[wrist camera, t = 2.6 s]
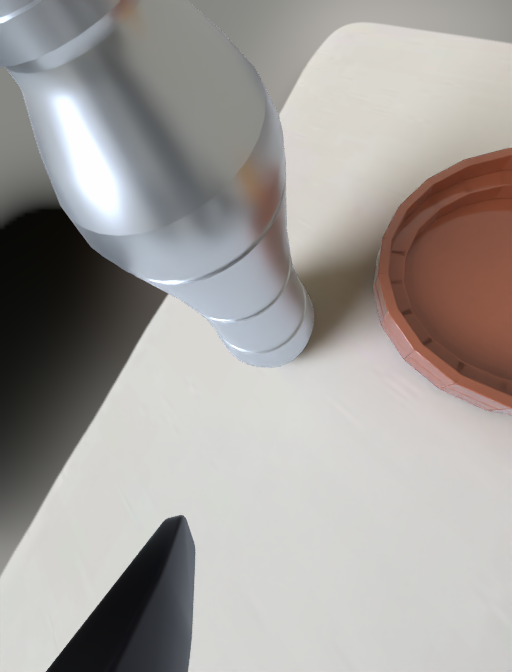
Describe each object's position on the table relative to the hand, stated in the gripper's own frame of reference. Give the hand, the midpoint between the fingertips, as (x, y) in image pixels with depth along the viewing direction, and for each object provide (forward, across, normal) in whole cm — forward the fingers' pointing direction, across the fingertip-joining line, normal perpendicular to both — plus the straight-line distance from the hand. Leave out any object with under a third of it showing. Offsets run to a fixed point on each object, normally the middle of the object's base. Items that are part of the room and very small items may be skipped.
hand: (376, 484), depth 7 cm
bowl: (+12, -15, -1) cm, 19 cm away
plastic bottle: (+16, 0, -1) cm, 16 cm away
